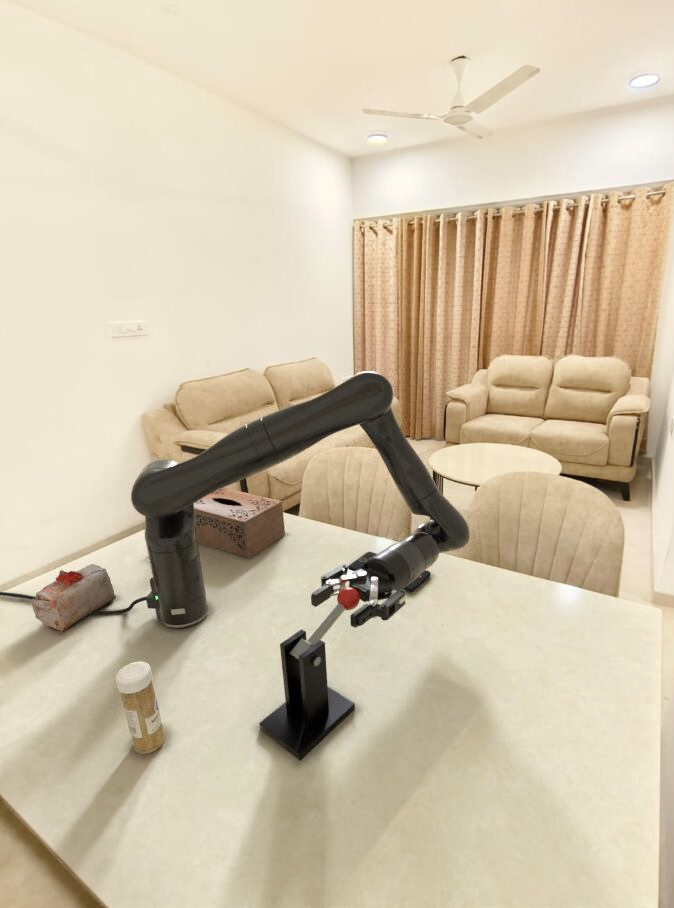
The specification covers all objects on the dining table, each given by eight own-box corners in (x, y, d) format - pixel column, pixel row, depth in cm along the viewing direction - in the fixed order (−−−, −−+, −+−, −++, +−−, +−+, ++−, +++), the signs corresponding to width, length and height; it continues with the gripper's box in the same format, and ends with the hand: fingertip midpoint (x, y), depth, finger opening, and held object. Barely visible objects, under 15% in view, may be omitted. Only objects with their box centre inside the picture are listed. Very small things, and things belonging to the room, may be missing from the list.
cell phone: (368, 554, 127) (368, 550, 126) (431, 575, 117) (431, 572, 117) (347, 569, 120) (347, 566, 119) (412, 593, 110) (412, 589, 110)
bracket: (315, 684, 86) (310, 612, 80) (355, 709, 80) (352, 634, 75) (259, 729, 77) (250, 652, 72) (300, 761, 72) (292, 680, 66)
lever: (349, 593, 83) (343, 579, 81) (366, 601, 81) (360, 587, 79) (292, 661, 75) (284, 648, 73) (309, 672, 73) (301, 659, 71)
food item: (60, 637, 98) (47, 594, 94) (34, 626, 101) (21, 585, 97) (120, 600, 109) (110, 561, 106) (95, 591, 112) (85, 553, 109)
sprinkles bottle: (169, 745, 74) (153, 674, 69) (136, 760, 72) (117, 688, 67) (162, 724, 78) (146, 655, 73) (130, 738, 76) (112, 668, 71)
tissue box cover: (177, 535, 137) (171, 502, 134) (216, 515, 149) (212, 484, 145) (248, 557, 126) (244, 522, 122) (285, 534, 137) (282, 501, 134)
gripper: (363, 537, 92) (298, 575, 80) (429, 562, 83) (366, 608, 72) (364, 573, 95) (301, 614, 83) (427, 600, 86) (367, 650, 74)
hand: (331, 611), depth 77 cm, fingers open, 8 cm apart
